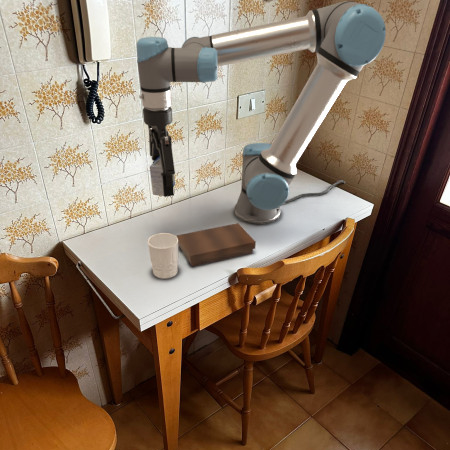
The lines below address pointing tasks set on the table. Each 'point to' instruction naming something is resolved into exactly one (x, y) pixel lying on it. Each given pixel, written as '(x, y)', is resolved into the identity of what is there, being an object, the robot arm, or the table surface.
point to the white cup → (164, 254)
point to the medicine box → (157, 177)
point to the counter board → (216, 244)
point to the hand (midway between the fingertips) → (164, 188)
